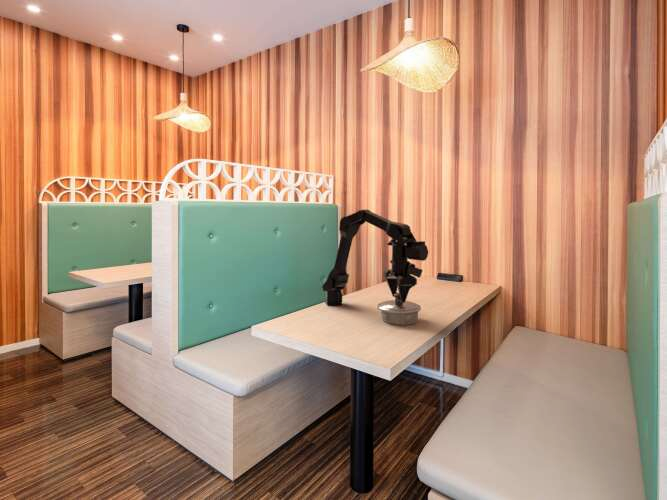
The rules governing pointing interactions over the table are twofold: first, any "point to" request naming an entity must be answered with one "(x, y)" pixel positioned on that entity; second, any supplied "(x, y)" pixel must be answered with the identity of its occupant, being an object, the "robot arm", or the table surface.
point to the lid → (399, 306)
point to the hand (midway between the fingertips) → (398, 299)
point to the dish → (399, 318)
